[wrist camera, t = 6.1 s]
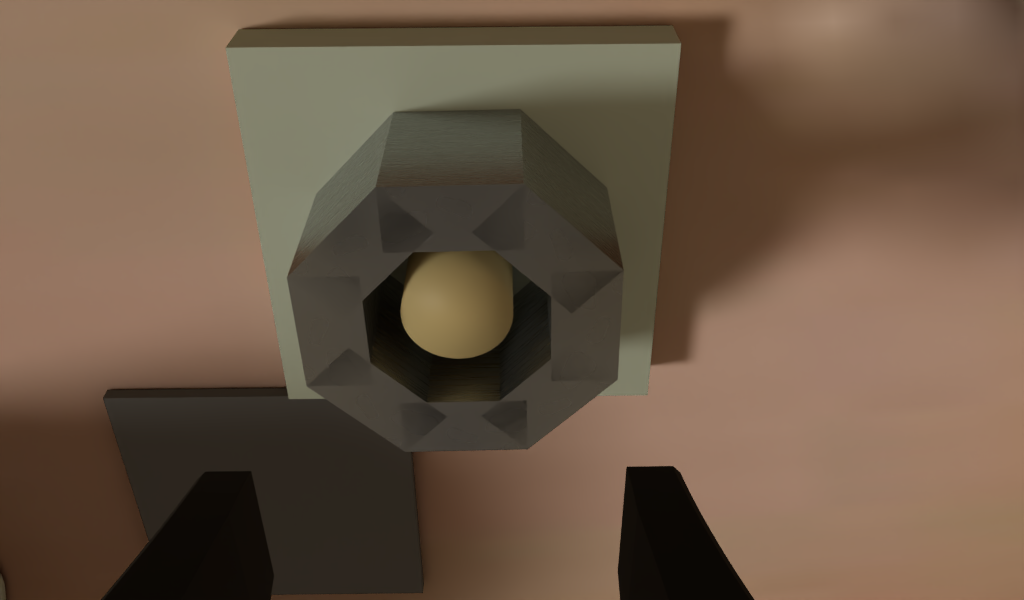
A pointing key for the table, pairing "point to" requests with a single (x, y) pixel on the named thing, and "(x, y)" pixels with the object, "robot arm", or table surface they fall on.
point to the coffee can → (2, 589)
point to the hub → (446, 87)
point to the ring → (459, 227)
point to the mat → (281, 480)
